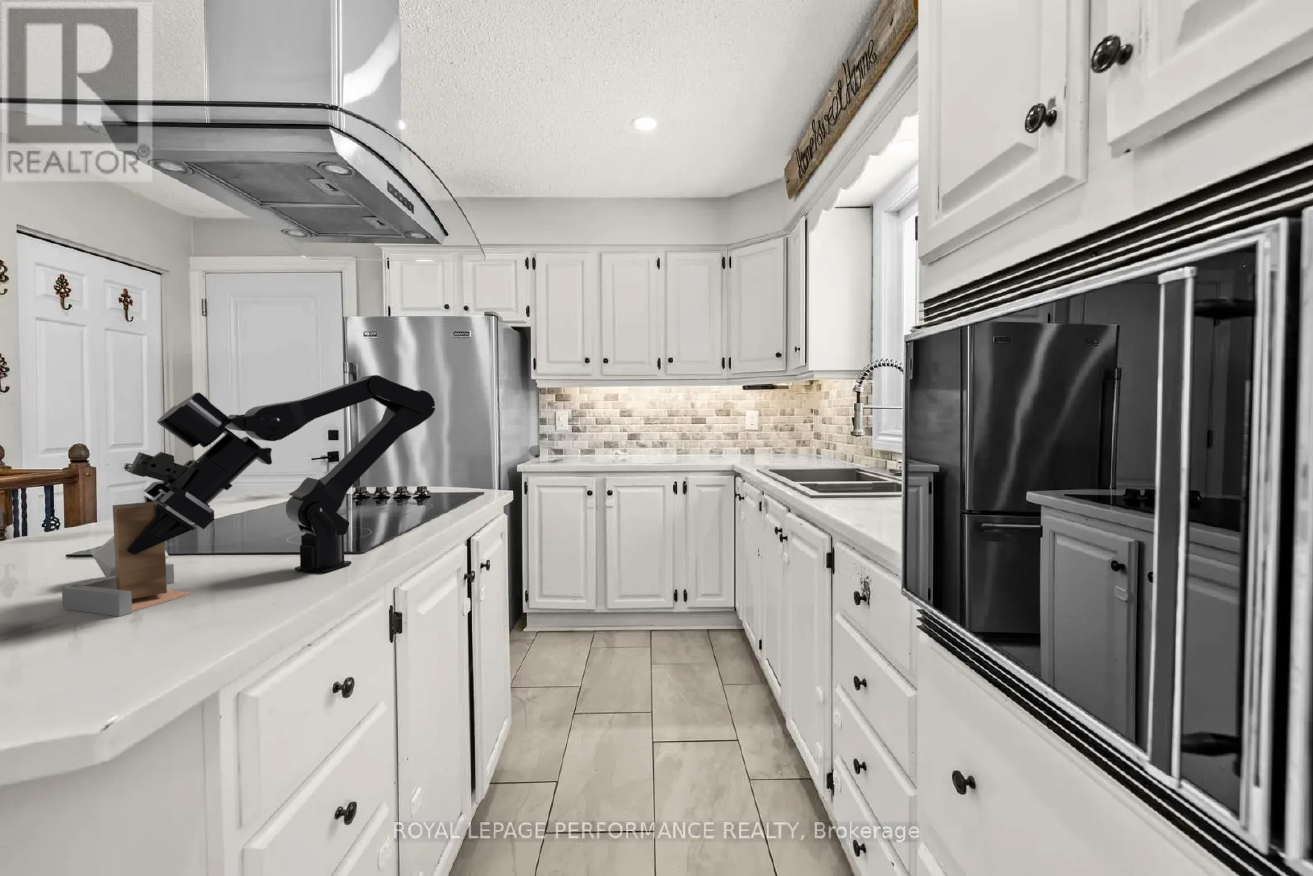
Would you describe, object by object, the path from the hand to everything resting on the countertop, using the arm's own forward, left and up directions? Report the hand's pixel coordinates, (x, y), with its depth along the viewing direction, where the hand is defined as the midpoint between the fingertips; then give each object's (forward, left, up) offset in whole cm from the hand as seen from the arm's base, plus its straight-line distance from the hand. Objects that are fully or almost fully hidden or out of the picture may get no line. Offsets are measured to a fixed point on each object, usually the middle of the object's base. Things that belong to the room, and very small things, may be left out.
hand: (127, 549), depth 85 cm
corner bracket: (-2, 0, -8) cm, 8 cm away
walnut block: (-1, +1, -7) cm, 7 cm away
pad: (-1, +1, -8) cm, 8 cm away
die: (-9, -13, -8) cm, 18 cm away
